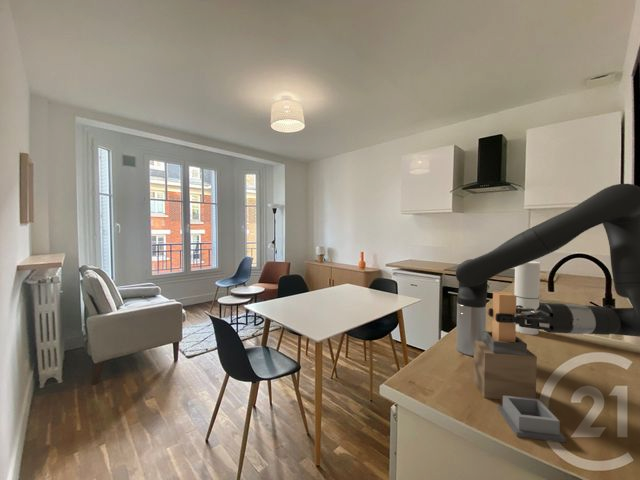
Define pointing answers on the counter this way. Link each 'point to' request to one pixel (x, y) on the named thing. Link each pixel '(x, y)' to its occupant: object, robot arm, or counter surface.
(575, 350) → the counter surface
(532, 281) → the container
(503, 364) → the square socket base
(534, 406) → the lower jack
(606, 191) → the robot arm
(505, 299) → the plug
